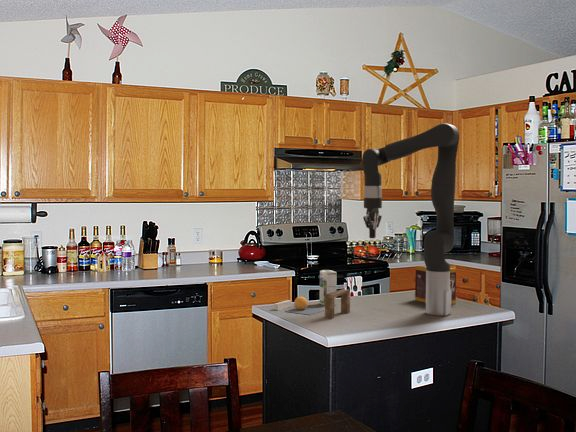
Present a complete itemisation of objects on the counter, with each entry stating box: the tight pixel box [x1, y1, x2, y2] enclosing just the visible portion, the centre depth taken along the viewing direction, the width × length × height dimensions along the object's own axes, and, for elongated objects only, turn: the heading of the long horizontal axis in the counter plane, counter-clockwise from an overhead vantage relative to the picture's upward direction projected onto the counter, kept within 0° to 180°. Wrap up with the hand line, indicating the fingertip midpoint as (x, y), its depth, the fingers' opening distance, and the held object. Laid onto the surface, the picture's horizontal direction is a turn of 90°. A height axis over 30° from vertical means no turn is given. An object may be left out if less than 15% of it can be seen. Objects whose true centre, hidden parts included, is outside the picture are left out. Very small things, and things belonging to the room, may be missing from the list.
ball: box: [293, 296, 309, 310], centre depth 252 cm, size 6×6×6 cm
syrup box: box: [318, 269, 338, 307], centre depth 264 cm, size 6×6×14 cm
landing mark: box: [284, 306, 325, 316], centre depth 250 cm, size 12×12×1 cm
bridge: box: [324, 288, 351, 320], centre depth 241 cm, size 3×14×9 cm, turn 146°
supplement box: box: [414, 264, 457, 305], centre depth 271 cm, size 10×15×16 cm
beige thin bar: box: [273, 299, 293, 311], centre depth 256 cm, size 2×10×2 cm, turn 146°
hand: (372, 238), depth 258 cm, fingers closed
